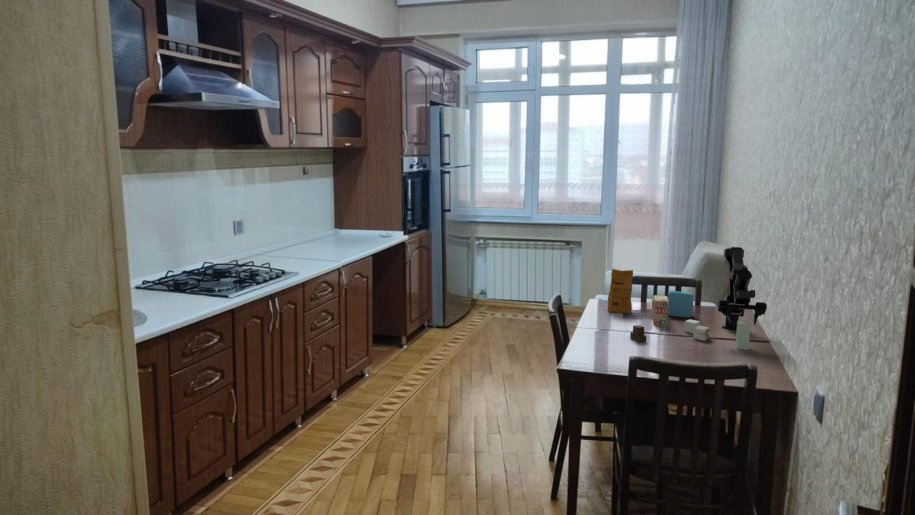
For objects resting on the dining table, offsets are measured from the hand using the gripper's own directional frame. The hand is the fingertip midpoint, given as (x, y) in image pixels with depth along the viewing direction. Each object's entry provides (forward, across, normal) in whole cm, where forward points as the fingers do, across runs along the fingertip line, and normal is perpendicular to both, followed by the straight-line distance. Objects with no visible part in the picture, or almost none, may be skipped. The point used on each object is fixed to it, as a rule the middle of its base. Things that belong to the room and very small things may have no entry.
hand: (743, 323), depth 270 cm
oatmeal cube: (+2, -15, +12) cm, 20 cm away
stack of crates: (+9, -41, +6) cm, 42 cm away
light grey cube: (-6, -18, +20) cm, 28 cm away
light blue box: (-28, -22, +42) cm, 55 cm away
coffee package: (-28, -52, +42) cm, 72 cm away
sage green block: (+8, 0, +6) cm, 10 cm away
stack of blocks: (-18, -32, +32) cm, 49 cm away
